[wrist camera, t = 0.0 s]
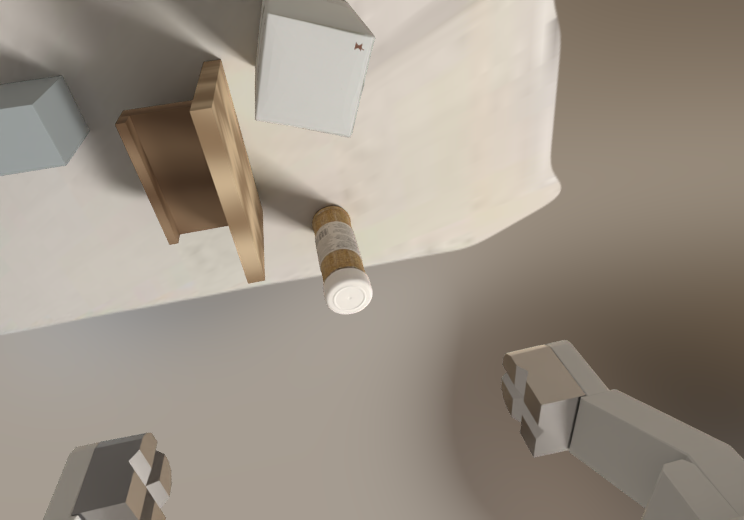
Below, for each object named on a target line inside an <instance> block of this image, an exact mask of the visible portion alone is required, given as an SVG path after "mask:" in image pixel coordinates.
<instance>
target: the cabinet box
mask: <svg viewBox="0 0 744 520" xmlns="http://www.w3.org/2000/svg"><path fill="white" fill-rule="evenodd" d="M88 133H89V129H88V127H87V125H86V123H85V121H84V119H83V117H82V115H81V113H80V111H79V109H78V107H77V105H76V103H75V101H74V99H73V96H72V94H71V92H70V90H69V88H68V86H67V84H66V82H65V80H64V78H63V76H57V77H49V78H42V79H35V80H28V81H21V82H14V83H7V84H0V176H4V175H10V174H16V173H23V172H29V171H35V170H41V169H47V168H54V167H60V166H66V165H67V164H68V162H69V161H70V159H71V158H72V156H73V155H74V153H75V152H76V150H77V149H78V148H79V146H80V145H81V143H82V142H83V140H84V139H85V137H86V136H87V134H88Z"/></svg>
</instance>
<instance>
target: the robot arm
mask: <svg viewBox="0 0 744 520" xmlns="http://www.w3.org/2000/svg"><path fill="white" fill-rule="evenodd" d="M503 367H504V369H505V370H506V373H505V375H504V376H503V377H502V378H501V390H502V395H503V399H504V402H505V404H506V407H507V409H508V411H509V413H510V415H511V417H513V418H514V419H516V420H517V421H519V422H521V429H520V434H521V435H522V437H523V439H524V441H525V443H526V445H527V446H528V448H529V450H530V452H531V453H532V455H533V457H538V456H542V455H547V454H552V453H557V452H561V451H566V450H569V452H570V453H571V454H573V455H574V456H575V457H577V458H578V459H579V460H581V461H582V462H583V463H585V464H586V465H587V466H589V467H590V468H591V469H593V470H594V471H595V472H597V473H598V474H600V475H601V476H602V477H604V478H605V479H607V480H608V481H609V482H610V483H612V484H613V485H614V486H616V487H617V488H618V489H620V490H622V491H623V492H624V493H625V494H627V495H628V496H629V497H631V498H632V499H633V500H635V501H636V502H638V503H639V504H640V505H641V506H643V507H644V508H646V509H645V511H644V514H643V516H642V518H641V520H744V460H743V458H742V457H741V456H740V455H739V454H738V453H737V452H736V451H735V450H734V449H733V448H732V447H731V446H730V445H728V444H726V443H724V442H722V441H720V440H718V439H716V438H713V437H712V436H709V435H707V434H705V433H703V432H701V431H699V430H697V429H695V428H693V427H691V426H689V425H687V424H685V423H683V422H681V421H679V420H677V419H675V418H673V417H671V416H669V415H667V414H665V413H663V412H661V411H659V410H657V409H655V408H653V407H651V406H649V405H647V404H644V403H642V402H640V401H638V400H636V399H634V398H632V397H630V396H628V395H626V394H624V393H622V392H620V391H618V390H616V389H614V390H609V389H608V388H607V387H606V386H605V385H604V383H603V382H602V381H601V379H600V378H599V377H598V376H597V375H596V373H595V372H594V371H593V370H592V368H591V367H590V366H589V365H588V364H587V362H586V361H585V360H584V359H583V357H582V356H581V355H580V354H579V353H578V351H577V350H576V349H575V348H574V346H573V345H572V344H571V343H570V342H569V341H567V340H563V341H558V342H554V343H550V344H545V345H539V346H535V347H531V348H526V349H522V350H518V351H514V352H509V353H506V354H505V355H504V357H503ZM156 446H157V440H156V439H155V437H154V436H153V434H152V433H144V434H139V435H134V436H129V437H124V438H118V439H113V440H108V441H103V442H99V443H94V444H90V445H84V446H79V447H76V448H75V449H74V450H73V451H72V452H71V453H70V455H69V457H68V459H67V462H66V464H65V467H64V469H63V472H62V474H61V477H60V479H59V482H58V484H57V486H56V489H55V492H54V494H53V496H52V499H51V501H50V504H49V506H48V509H47V511H46V514H45V516H44V518H43V520H165V519H166V517H165V515H164V514H163V512H162V511H161V507H162V506H163V505H164V503H165V502H166V501H167V500H168V498H169V497H170V490H171V485H172V482H171V468H170V465H169V462H168V459H167V457H166V456H165V454H163V453H161V452H159V451H156Z"/></svg>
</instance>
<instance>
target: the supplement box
mask: <svg viewBox="0 0 744 520" xmlns="http://www.w3.org/2000/svg"><path fill="white" fill-rule="evenodd" d="M374 41H375V36H374V35H373V33H372V32H371V31H370V30H369V28H368V27H367V26H366V25H365V24H364V22H363V21H362V20H361V19H360V17H359V16H358V15H357V14H356V12H355V11H354V10H353V9H352V7H351V6H350V5H349V4H348V2H346V1H342V0H262V7H261V16H260V26H259V35H258V45H257V56H256V65H255V120H256V121H263V122H268V123H274V124H280V125H286V126H292V127H298V128H303V129H308V130H313V131H318V132H323V133H328V134H334V135H339V136H344V137H351V135H352V133H353V128H354V124H355V120H356V115H357V111H358V107H359V103H360V98H361V95H362V91H363V87H364V82H365V77H366V73H367V69H368V65H369V61H370V57H371V52H372V48H373V44H374Z"/></svg>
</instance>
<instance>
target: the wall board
mask: <svg viewBox="0 0 744 520" xmlns="http://www.w3.org/2000/svg"><path fill="white" fill-rule="evenodd" d="M115 126H116V128H117V130H118V132H119V134H120V137H121V139H122V141H123V143H124V145H125V148H126V150H127V152H128V154H129V156H130V159H131V161H132V163H133V165H134V167H135V170H136V172H137V174H138V176H139V178H140V181H141V183H142V185H143V187H144V190H145V192H146V194H147V196H148V198H149V201H150V203H151V205H152V207H153V209H154V212H155V214H156V216H157V218H158V220H159V223H160V225H161V227H162V229H163V231H164V234H165V236H166V238H167V240H168V242H169V245H171V244H177V243H178V242H179V237H180V234H185V233H190V232H196V231H201V230H207V229H212V228H218V227H224V226H229V228H230V231H231V234H232V237H233V240H234V243H235V246H236V249H237V252H238V255H239V258H240V261H241V264H242V267H243V270H244V272H245V275H246V278H247V281H248V283H254V282H259V281H264V280H265V269H264V237H263V210H262V206H261V203H260V199H259V195H258V192H257V188H256V185H255V181H254V177H253V174H252V170H251V167H250V163H249V159H248V156H247V152H246V148H245V145H244V141H243V138H242V134H241V130H240V127H239V123H238V120H237V116H236V112H235V109H234V105H233V102H232V98H231V94H230V91H229V87H228V83H227V80H226V76H225V73H224V69H223V65H222V62H221V60H214V61H207V62H204V63H203V66H202V70H201V73H200V77H199V80H198V84H197V87H196V91H195V94H194V97H193V100H190V101H184V102H177V103H170V104H164V105H157V106H151V107H144V108H137V109H131V110H124V111H123V112H122V113H121V115H120V117H119V118H118V120H117V122H116V124H115Z"/></svg>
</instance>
